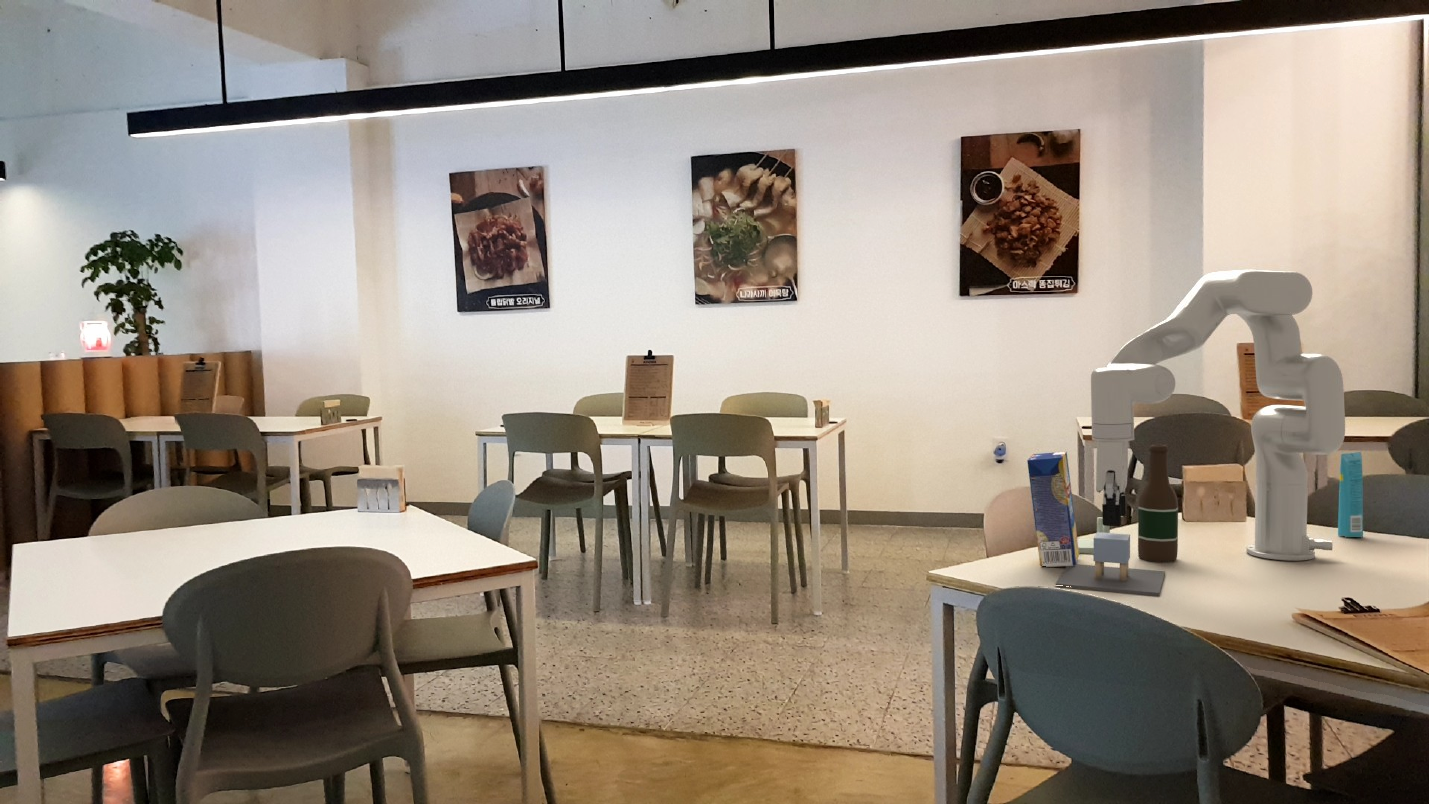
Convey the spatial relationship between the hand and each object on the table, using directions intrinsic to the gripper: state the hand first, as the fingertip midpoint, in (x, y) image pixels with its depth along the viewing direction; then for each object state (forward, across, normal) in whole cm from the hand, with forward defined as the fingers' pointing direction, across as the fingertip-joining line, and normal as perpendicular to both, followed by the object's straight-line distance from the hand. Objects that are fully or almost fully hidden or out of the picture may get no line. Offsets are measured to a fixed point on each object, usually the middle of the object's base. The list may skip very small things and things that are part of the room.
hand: (1114, 520), depth 194 cm
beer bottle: (+12, -22, +6) cm, 26 cm away
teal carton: (+14, -62, +44) cm, 78 cm away
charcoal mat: (+12, +1, -1) cm, 12 cm away
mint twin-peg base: (+12, -27, -9) cm, 31 cm away
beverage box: (+11, -11, -12) cm, 20 cm away
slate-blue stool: (+11, +1, -1) cm, 11 cm away
